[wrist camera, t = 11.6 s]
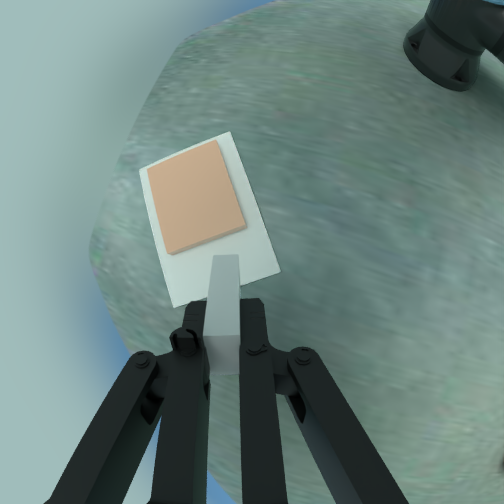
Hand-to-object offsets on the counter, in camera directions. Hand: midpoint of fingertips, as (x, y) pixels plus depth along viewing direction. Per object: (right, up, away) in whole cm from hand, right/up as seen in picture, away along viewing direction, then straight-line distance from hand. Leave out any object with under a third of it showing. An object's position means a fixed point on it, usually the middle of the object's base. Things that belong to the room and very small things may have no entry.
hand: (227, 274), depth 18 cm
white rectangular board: (-5, +6, +19) cm, 21 cm away
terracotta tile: (-4, +3, +17) cm, 17 cm away
